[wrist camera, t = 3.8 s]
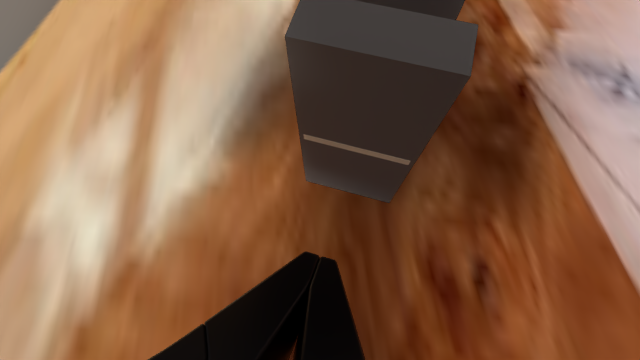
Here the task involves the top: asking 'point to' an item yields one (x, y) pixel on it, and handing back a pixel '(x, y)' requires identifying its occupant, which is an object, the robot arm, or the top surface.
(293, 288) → the robot arm
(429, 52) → the domino
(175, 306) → the top surface
